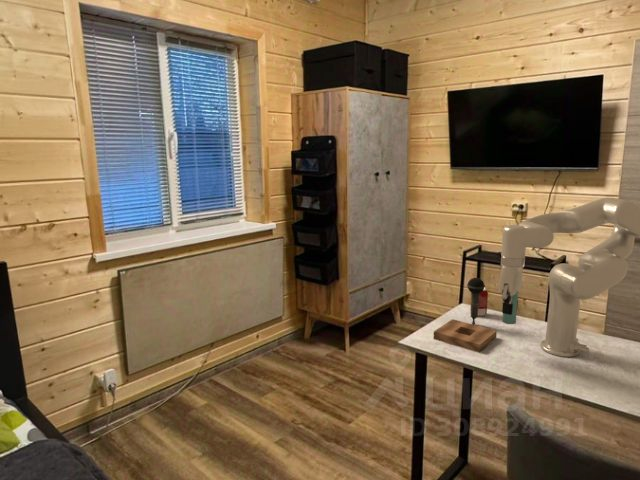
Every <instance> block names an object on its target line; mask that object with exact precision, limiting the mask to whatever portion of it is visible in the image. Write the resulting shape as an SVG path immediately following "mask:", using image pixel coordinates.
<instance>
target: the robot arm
mask: <svg viewBox="0 0 640 480" xmlns="http://www.w3.org/2000/svg"><path fill="white" fill-rule="evenodd" d="M607 224H611V225H613V229H612V232H611V234H610V236H609V237H608V238H607V239H606V240H604V241H603V242H601V243H599V244H597V245H595V246H593V247H592V248H590V249H589V250H587V251H586V252H584V253H582V254H581V255H580V257H579V258H578V260H577V265H578V266H575V265H573V264H570V263H565V262H564V263H557V264H556V265H554V266H553V267H552V268H551V270H550V272H549V275H548V284H549V301H548V302H549V304H548V310H547V311H548V313H547V323H546V333H545V339H543V340H542V341H541V342H540V344H539V346H540V349H542V350H543V351H545V352H547V353H549V354H551V355H554V356H558V357H565V358H567V357H568V358H569V357H577V356H578V355H579V354H580V352H582V353H585V354H589V352H590V347H588V345H586V344H585V343H580V342H579V338H577V333H578V325H579V316H580V309H581V302H580V301H581V300H582V301H585V300H590V299H593V298H595V297H597V296H599V295H601V294H602V293H604V292H605V291H607V290H609V289H610V288H612V287H614V286H616V285H617V284H618V283H621V282H622V281H623V280H624V278H625V277H626V275H627V274H628V270H629V266H628V262H627V261H626V260H625V259H627V258H628V257H629V256H630V255H631V254H632V252H633V249H634V246H635V245H634V243H635V238H640V205H639V204H637V203H635V202H633V201H630V200H626V199H619V198H614V197H603V198H600V199H597V200H594V201H591V202H587V203H585V204H583V205H582V204H581V205H579V206H576V207H574V208H571V209H566V210H559V211H555V212H554V211H553V212H548V213H542V214H540V215H539V214H538V215H537V216H533V217H531V218H528V219H525V220H523V221H521V222H520V223H519V224H508V225H504V227H503V229H502V233H501V235H502V237H501V255H500V256H501V257H500V266H501V269H500V273H499V283H498V294H499V295H501V294H502V295H501V299H502V308H501V310H502V314H503V313H504V314H509V315H512V308H513V304H512V297H513V295H515V294H516V292H517V291H518V294H519V291H521V290H522V287H523V286H522V285H523V268H524V267H525V266H526V265H525V262H526V251H527V248H528V247H529V248H535V249H536V248H537V249H539V248H541V249H542V248H546V247H549V246H550V245H551V244H552V243H553V241H554V237H555V233H556V234H578V233H579V234H581V233H584V232H586V231H589V230H591V229H594V228H597V227H600V226H601V227H602V226H603V225H607ZM508 293H510V294H508ZM507 296H509V297H510V300H509V298H508V297H507ZM518 303H519V296H518V297H517V308H518V307H519V306H518V305H519V304H518Z"/></svg>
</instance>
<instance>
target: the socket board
mask: <svg viewBox="0 0 640 480" xmlns="http://www.w3.org/2000/svg"><path fill="white" fill-rule="evenodd" d="M497 332H498V331H497V330H495V329H491V328H488V327H484V326H480V325H476V324H475V325H473V324H472V323H468V322H465V321H460V320H457V319H454V318H453V319H450V320H449V321H447V322H446V323H444V324H442V325H441V326H440V327H438V328H437V329H435V330H433V340H436V341H440V342H443V343H446V344H450V345H454V346H457V347H460V348H463V349H466V350H470V351H473V352H477V353H480V352H482V350H484V349H485V348H486V347H487V346H489V345H490V344H491V343H492V342H494V341H495V340H496V339H497V334H498V333H497Z"/></svg>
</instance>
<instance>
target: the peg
mask: <svg viewBox="0 0 640 480" xmlns="http://www.w3.org/2000/svg"><path fill="white" fill-rule="evenodd" d="M508 294H510V293H508ZM507 297H508V298H509V300H510V297H509V296H507ZM517 297H518V298H519V293H518V291H517V292H516V294H515V295H513V297H512V304H513V308H512V315H509V314H504V313H502V320H501V321H502V323H504V324H506V325H516V323H517V311H518V307H517Z"/></svg>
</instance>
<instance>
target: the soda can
mask: <svg viewBox="0 0 640 480" xmlns="http://www.w3.org/2000/svg"><path fill="white" fill-rule="evenodd" d="M488 297H489V291H488V289H487V288H486V287H485V288H484V290H483V291H482V292H481V293H480V296H479V305H478V315H477V318H478V317H480V318H483V317H485V316H487V314H488ZM469 308H470V309H469V310H470V311H469V312H470V314H471V307H469Z"/></svg>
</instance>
